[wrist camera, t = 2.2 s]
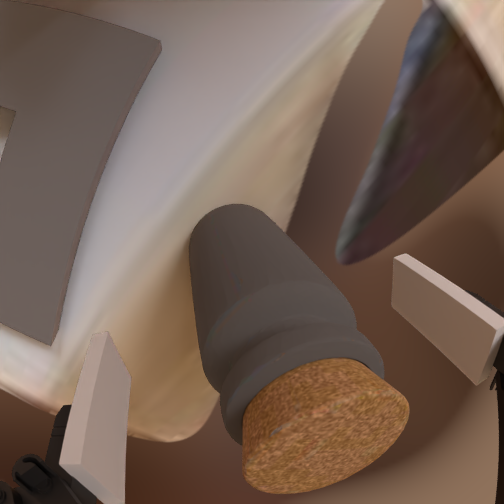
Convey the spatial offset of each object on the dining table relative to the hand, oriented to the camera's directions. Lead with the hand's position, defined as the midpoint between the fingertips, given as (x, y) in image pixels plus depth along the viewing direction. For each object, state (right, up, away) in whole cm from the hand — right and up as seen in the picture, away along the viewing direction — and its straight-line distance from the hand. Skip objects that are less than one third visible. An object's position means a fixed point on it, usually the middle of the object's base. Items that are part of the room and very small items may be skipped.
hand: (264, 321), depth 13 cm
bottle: (-2, +3, +7) cm, 8 cm away
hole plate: (-19, +9, 0) cm, 21 cm away
